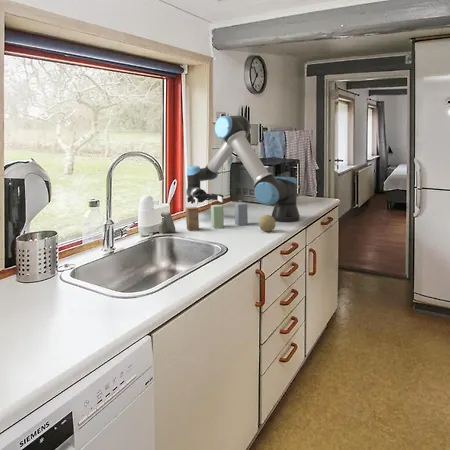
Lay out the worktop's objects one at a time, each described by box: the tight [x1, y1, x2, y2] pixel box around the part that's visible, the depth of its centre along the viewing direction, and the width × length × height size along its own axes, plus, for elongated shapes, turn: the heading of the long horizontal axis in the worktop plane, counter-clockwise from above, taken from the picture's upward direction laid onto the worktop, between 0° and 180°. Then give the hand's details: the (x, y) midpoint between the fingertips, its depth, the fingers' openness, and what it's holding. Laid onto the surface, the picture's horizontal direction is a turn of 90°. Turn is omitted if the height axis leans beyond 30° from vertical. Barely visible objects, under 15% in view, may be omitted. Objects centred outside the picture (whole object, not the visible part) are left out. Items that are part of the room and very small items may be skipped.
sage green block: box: [210, 204, 225, 229], centre depth 223 cm, size 5×5×11 cm
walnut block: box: [185, 206, 200, 232], centre depth 219 cm, size 5×5×11 cm
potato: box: [258, 214, 276, 232], centre depth 211 cm, size 8×8×8 cm
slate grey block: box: [234, 202, 249, 227], centre depth 228 cm, size 5×5×11 cm
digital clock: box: [158, 210, 176, 234], centre depth 217 cm, size 16×9×11 cm, turn 47°
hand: (210, 200), depth 231 cm, fingers open, 13 cm apart
